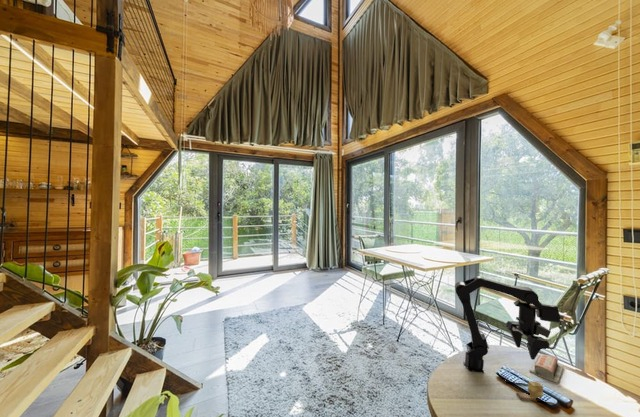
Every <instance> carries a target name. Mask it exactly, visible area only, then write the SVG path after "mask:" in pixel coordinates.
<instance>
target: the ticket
mask: <svg viewBox="0 0 640 417" xmlns="http://www.w3.org/2000/svg"><path fill="white" fill-rule="evenodd" d="M518 373H519V374H522V375H524V376H526V377H527V378H529V379H531V380H533V379H532V378H531V377H530V376H529V375H528V374H527V373H525V372H518ZM505 381H506V380H505ZM505 381H504V382H505Z"/></svg>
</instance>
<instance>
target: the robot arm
mask: <svg viewBox="0 0 640 417" xmlns="http://www.w3.org/2000/svg"><path fill="white" fill-rule="evenodd" d="M481 288H485V289H489V290H492V291H496V292H498V293H502V294H505V295H508V296H511V297H513V298H515V299H517V300H515V301H513V304H514V306H515V307H517V308H518V316H516V318H515V319H516V320H517V321H516V320H515V321H514V320H508V321H506V324H505V325H506V326H505V327H506V328H507V330H508V331H509V333H510V335H511V337H512V340H513V342H514V343H515V345H516V348H518V349H519V348H521V344H522V339H523V338H522V337H523V335H524V336H526V338H527V339H526V341H527V343H526V345H527V350H528V353H529V356H530V357H529V358H530V359H531V360H533V361H535V360H536V358H537V357H538V354H539V353H540V351H541V350H546V349H550V342H549V341H548V340H547V339H548V338H549V336H550V334H551V333H552V332H551V330H550V329H548V328H546V327H545V326H543V325H542V323H541V322H539V321H538V320H536V318H538V319H539V320H540V321H544V322H549V323H556V324H560V321H561V316H560V311H559V307H558V306H557V305H554V304H552V305H550V304H546V303H545V304H544V303H542V302H541V301H539V295H538V293H537V292H536V291H534V289H532V288H530V287H528V286H524V285H523V286H520V285H510V284H508V283H507V284H506V283H503V282H501V281H496V280H494V279H493V280H492V279H489V278H486V277H483V276H479V275H477V276H474V277H473V278H470V279H467V280H464V281H457V282H456V283H455V285H454V290H455V293H456V295H457V298H458V300H459V301H460V302H461V304H462V307H463V311H464V314H465V317H466V322H467V324H468V327H469V329H470V330H469V331H470V339H471V341H470V342H468V343H466V344H465V346H466V350H467V351H465V357H464V358H465V360H464V361H463V364H464V365H465V367H466V368H467V370H468V371H469V372H477V373H485V370H484V365H485V364H484V362H485V360H484V356H487V354H488V353H489V350H490V347H489V344H488V340H487V338H486V334H485V333H481V331H480V329H479V326H478V323H477V320H476V316H475V313H474V309H473V306H472V303H471V293H473V292H475V291H476V290H479V289H481ZM542 336H543V337H542ZM544 337H545V338H547V339H545V338H544ZM488 349H489V350H488Z"/></svg>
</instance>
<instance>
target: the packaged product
mask: <svg viewBox="0 0 640 417" xmlns="http://www.w3.org/2000/svg"><path fill="white" fill-rule="evenodd" d="M558 360H559V359H558V358H557V357H555V356H554V355H549V354H543V353H542V354H541V353H540V354H539V355H538V356H536V358H535V359H534V360H533V363H532V366H531V367H530V369H529V373H531V374H532V375H533V374H534V375H536V376H538V375H539V376H538V377H541V378H544V379H546V380H549V381H552V382H553V381H554V383H556V384H559V382H560V379H561V376H562V374H563V370H564V365H563V364H561V363H558Z"/></svg>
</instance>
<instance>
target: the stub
mask: <svg viewBox="0 0 640 417" xmlns="http://www.w3.org/2000/svg"><path fill="white" fill-rule="evenodd" d="M527 386H528V392H529V393H530V395H528V394H526V393H528V392H519V391H517V392H516V393H515V394H516V396H517V397H518V399H519V400H520V401H528V400H536V398H537V397H542V396H543V395H544V394H543V393H544V386H543V385H542V384H541V383H540V382H539V381H534V382H531V381H529V385H527Z"/></svg>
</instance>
